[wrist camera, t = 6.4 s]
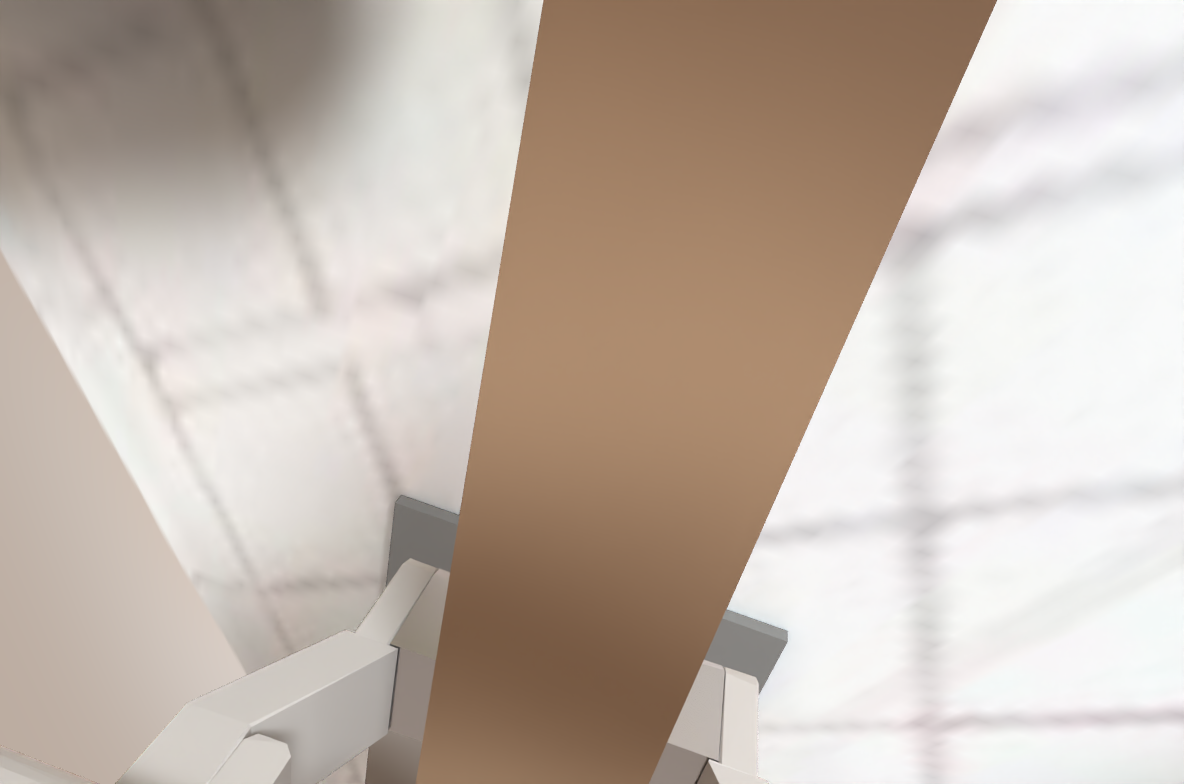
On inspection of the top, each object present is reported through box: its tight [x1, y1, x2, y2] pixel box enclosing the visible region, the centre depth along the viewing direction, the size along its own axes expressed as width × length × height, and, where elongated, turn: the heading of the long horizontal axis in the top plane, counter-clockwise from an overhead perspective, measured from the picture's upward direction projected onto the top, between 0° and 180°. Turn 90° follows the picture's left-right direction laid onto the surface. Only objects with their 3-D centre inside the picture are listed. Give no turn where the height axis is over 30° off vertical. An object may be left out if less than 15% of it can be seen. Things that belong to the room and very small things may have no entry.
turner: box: [365, 0, 997, 784], centre depth 11 cm, size 21×7×4 cm, turn 166°
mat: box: [386, 495, 788, 694], centre depth 34 cm, size 18×16×1 cm
